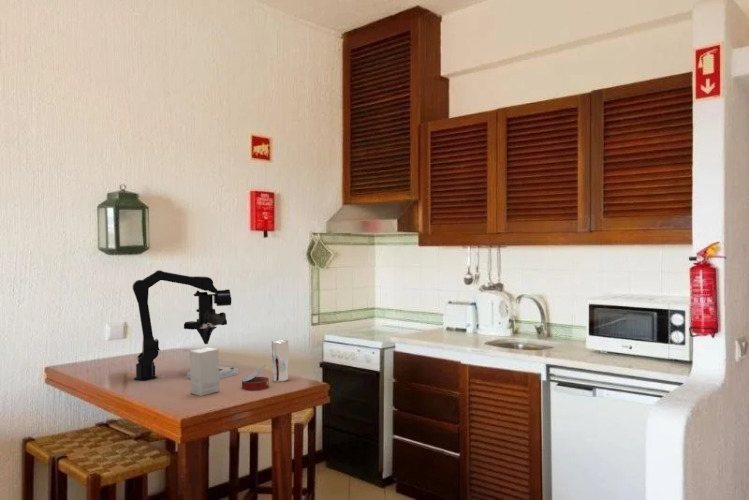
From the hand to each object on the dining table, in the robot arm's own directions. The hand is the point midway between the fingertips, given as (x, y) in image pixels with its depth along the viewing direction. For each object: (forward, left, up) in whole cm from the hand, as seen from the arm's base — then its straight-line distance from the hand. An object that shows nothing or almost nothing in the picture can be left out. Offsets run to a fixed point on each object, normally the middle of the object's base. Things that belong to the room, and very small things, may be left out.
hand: (206, 344), depth 248 cm
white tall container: (+4, -37, -12) cm, 39 cm away
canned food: (-10, -37, -12) cm, 40 cm away
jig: (-4, -8, -12) cm, 15 cm away
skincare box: (-25, -27, -12) cm, 39 cm away
